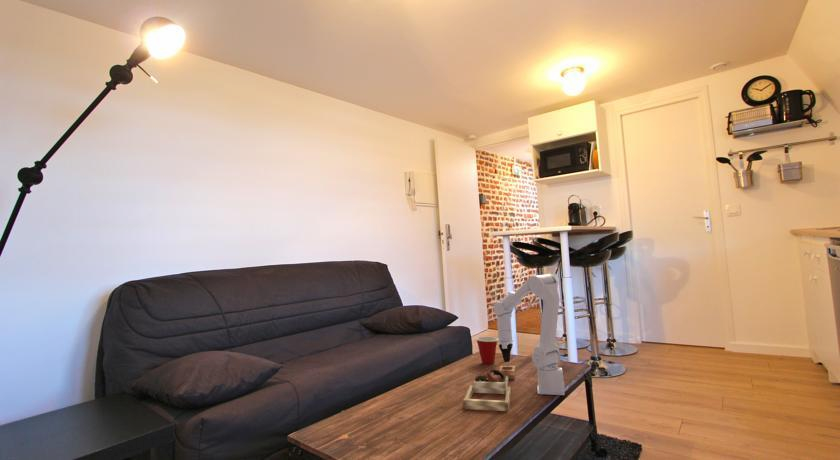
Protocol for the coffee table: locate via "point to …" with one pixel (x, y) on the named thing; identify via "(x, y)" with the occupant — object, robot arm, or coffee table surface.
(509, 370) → the pull frame
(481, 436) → the coffee table surface
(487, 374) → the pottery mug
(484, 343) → the plastic cup
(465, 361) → the coffee table surface
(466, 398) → the frame
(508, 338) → the robot arm
